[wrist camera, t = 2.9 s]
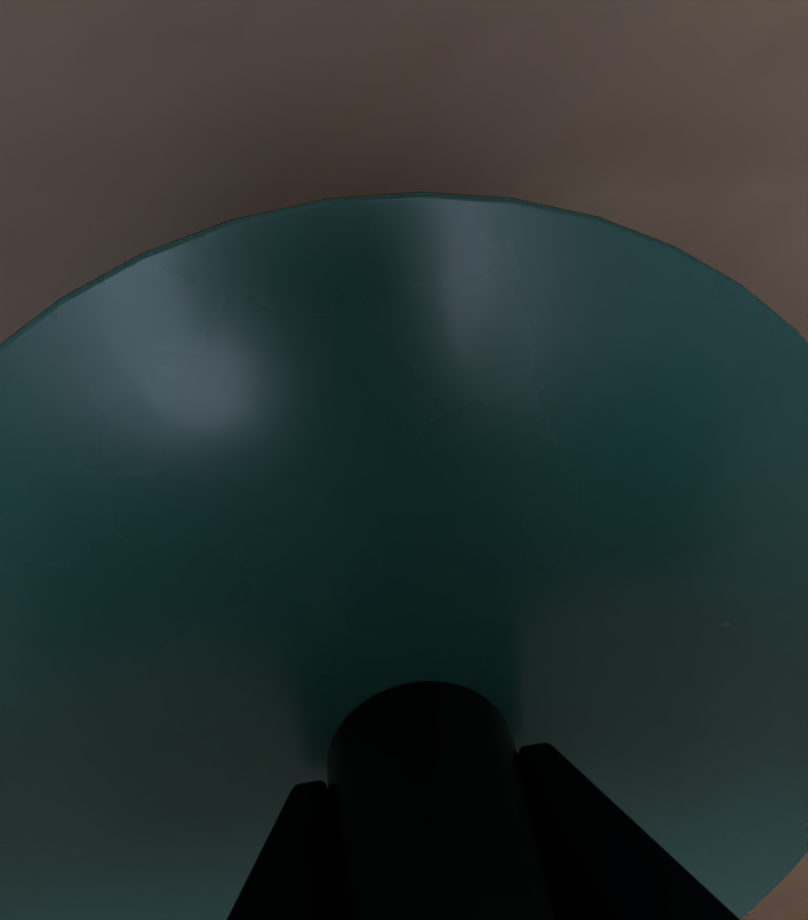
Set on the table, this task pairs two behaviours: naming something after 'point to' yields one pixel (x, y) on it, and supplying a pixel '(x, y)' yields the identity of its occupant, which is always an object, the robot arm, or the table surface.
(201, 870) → the pot lid
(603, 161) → the table surface
